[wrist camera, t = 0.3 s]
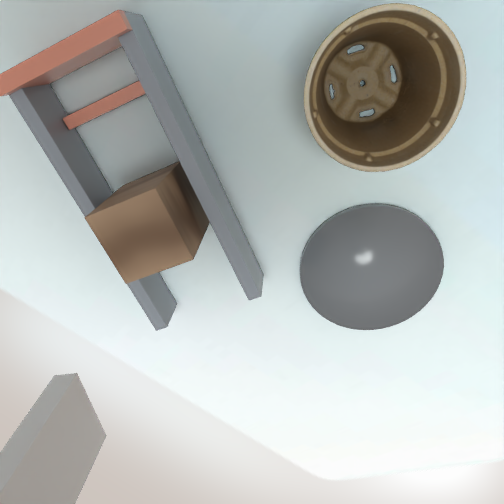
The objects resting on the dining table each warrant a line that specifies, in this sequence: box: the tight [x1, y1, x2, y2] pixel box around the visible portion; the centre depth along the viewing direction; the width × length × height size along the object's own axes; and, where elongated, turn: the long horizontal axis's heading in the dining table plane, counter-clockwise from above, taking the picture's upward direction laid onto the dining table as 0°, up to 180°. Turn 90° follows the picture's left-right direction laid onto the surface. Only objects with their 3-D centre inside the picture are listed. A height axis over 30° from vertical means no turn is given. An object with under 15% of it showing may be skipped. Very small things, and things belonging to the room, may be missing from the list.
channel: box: [0, 10, 263, 331], centre depth 35 cm, size 24×11×5 cm, turn 23°
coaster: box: [300, 204, 444, 330], centre depth 39 cm, size 13×13×1 cm
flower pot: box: [304, 3, 466, 172], centre depth 29 cm, size 9×9×9 cm
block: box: [85, 161, 210, 284], centre depth 35 cm, size 6×6×8 cm
